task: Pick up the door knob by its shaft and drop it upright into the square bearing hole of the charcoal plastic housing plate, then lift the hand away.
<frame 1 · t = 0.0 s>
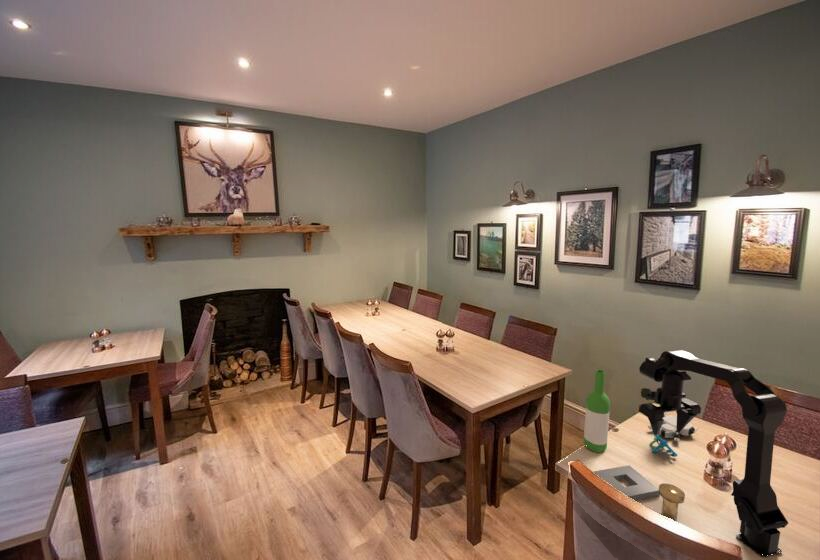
hand: (667, 432, 121), 15 cm above the table, tool pointing down, fingers open, 9 cm apart
housing plate: (624, 486, 117), on the table
wine bottle: (594, 447, 137), on the table
robot toy: (672, 434, 146), on the table
door knob: (669, 515, 105), on the table
blue plastic angular piece: (662, 452, 134), on the table
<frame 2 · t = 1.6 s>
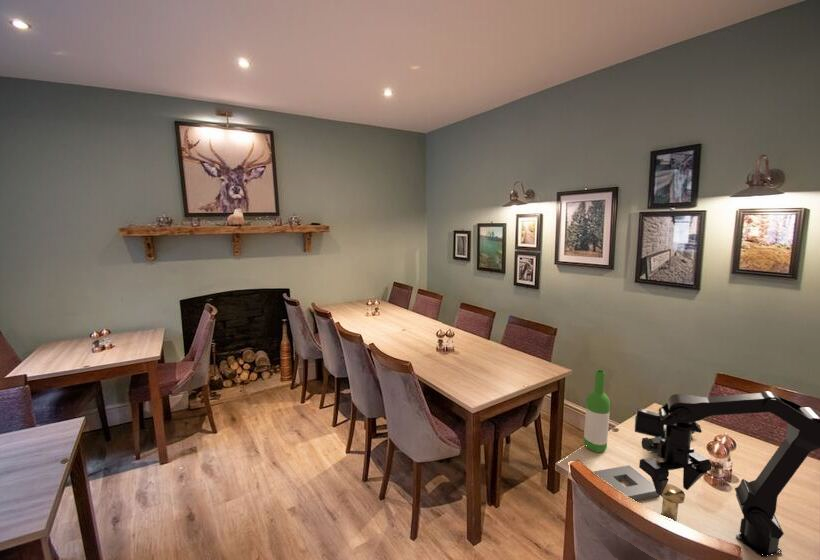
hand: (672, 491, 104), 8 cm above the table, tool pointing down, fingers open, 9 cm apart
nothing on the table moved.
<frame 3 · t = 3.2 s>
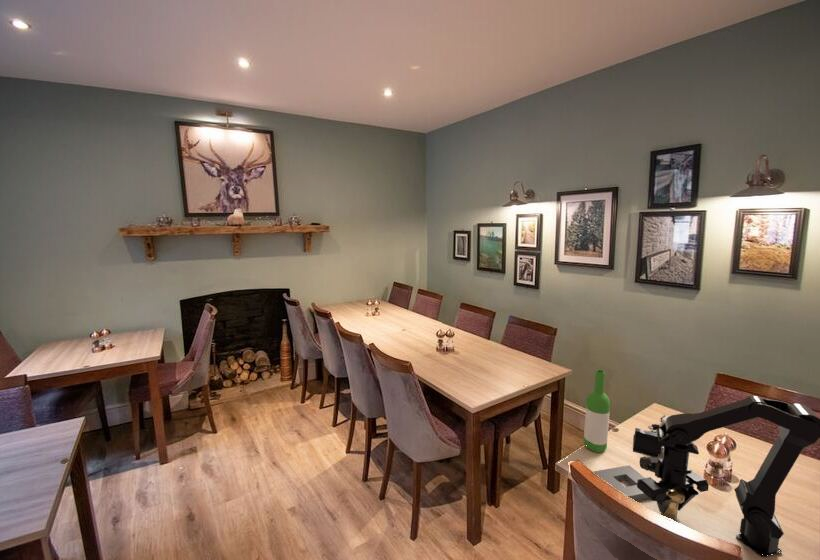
hand: (669, 511, 105), 2 cm above the table, tool pointing down, fingers closed on door knob, 5 cm apart
door knob: (669, 515, 105), on the table, touching gripper
everything else where it was.
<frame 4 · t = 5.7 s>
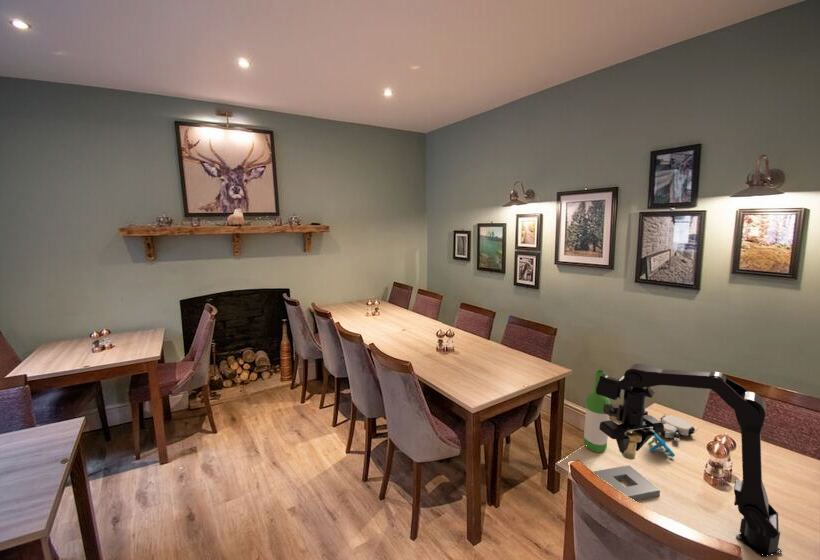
hand: (628, 451, 115), 12 cm above the table, tool pointing down, fingers closed on door knob, 5 cm apart
door knob: (628, 455, 115), point 11 cm above the table, touching gripper
everything else where it was.
when the fingers open (4 cm above the table, at t = 8.4 s): door knob drops 3 cm, resting in housing plate.
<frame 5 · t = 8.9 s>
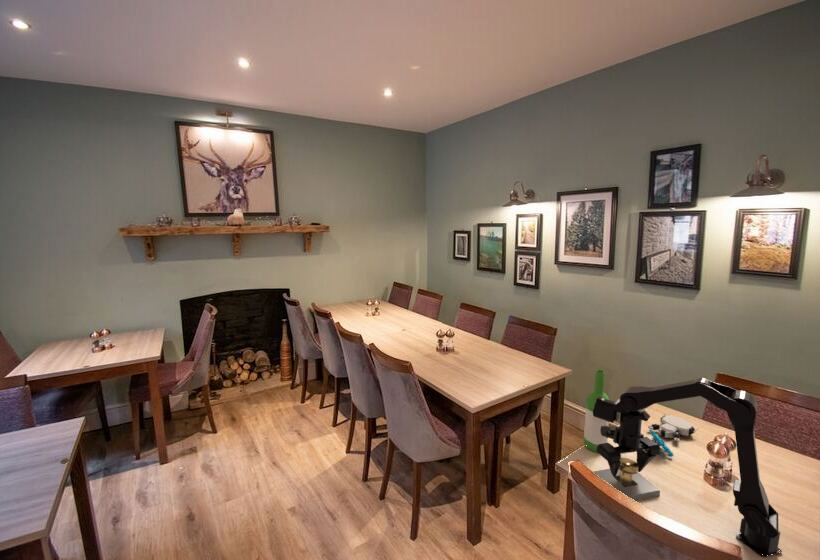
hand: (626, 473, 116), 4 cm above the table, tool pointing down, fingers open, 9 cm apart
door knob: (625, 486, 117), resting in housing plate
everything else where it was.
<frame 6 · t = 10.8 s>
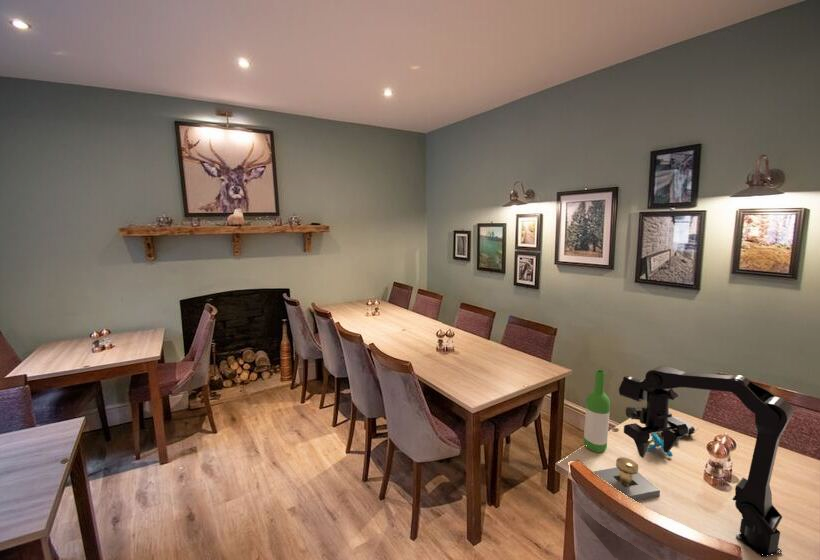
hand: (653, 454, 115), 12 cm above the table, tool pointing down, fingers open, 9 cm apart
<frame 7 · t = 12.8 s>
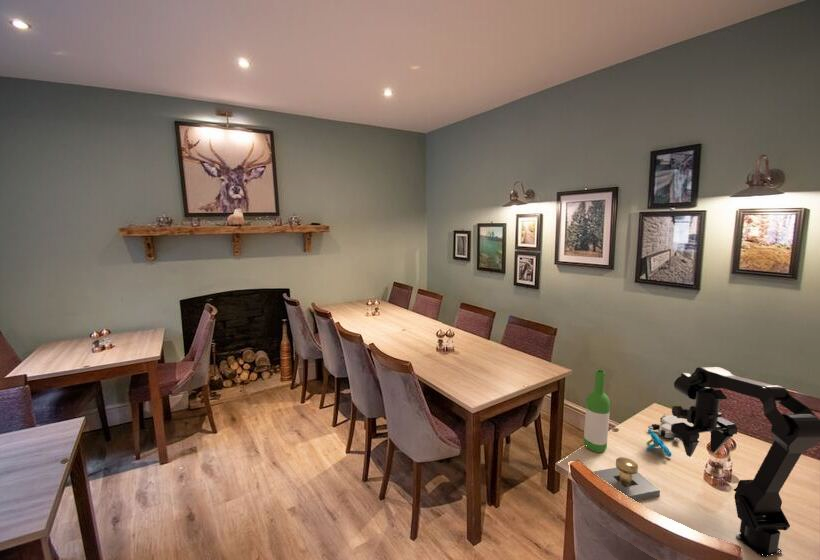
hand: (700, 453, 114), 12 cm above the table, tool pointing down, fingers open, 9 cm apart
at the end: door knob 0.0 cm off-centre on the housing plate, point 0.0 cm above the housing plate's base; door knob tilted 1°; the gripper is holding nothing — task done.
